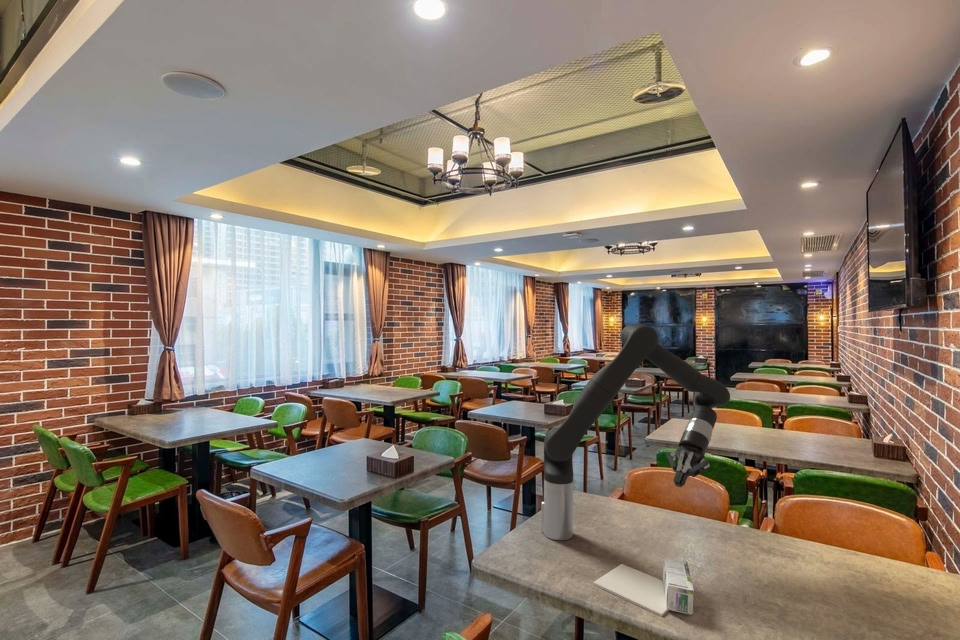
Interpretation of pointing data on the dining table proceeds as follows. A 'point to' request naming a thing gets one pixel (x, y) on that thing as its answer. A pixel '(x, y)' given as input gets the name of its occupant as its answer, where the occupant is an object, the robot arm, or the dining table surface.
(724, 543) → the dining table surface
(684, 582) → the syrup box
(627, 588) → the placemat
